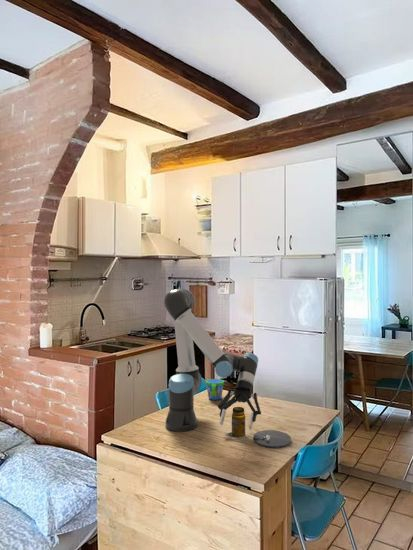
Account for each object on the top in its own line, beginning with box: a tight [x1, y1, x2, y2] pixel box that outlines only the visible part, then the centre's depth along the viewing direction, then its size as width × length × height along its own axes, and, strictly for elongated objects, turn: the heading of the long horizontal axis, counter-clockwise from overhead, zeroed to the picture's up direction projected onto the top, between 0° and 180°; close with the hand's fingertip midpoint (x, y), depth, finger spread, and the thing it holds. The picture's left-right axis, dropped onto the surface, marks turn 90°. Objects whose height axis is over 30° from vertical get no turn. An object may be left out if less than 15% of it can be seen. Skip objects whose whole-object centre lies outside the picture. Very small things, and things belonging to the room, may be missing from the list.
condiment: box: [224, 406, 250, 440], centre depth 189 cm, size 7×8×12 cm
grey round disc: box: [252, 429, 292, 449], centre depth 183 cm, size 16×16×4 cm
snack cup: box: [205, 378, 225, 401], centre depth 244 cm, size 16×10×10 cm
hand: (235, 425), depth 187 cm, fingers open, 13 cm apart
